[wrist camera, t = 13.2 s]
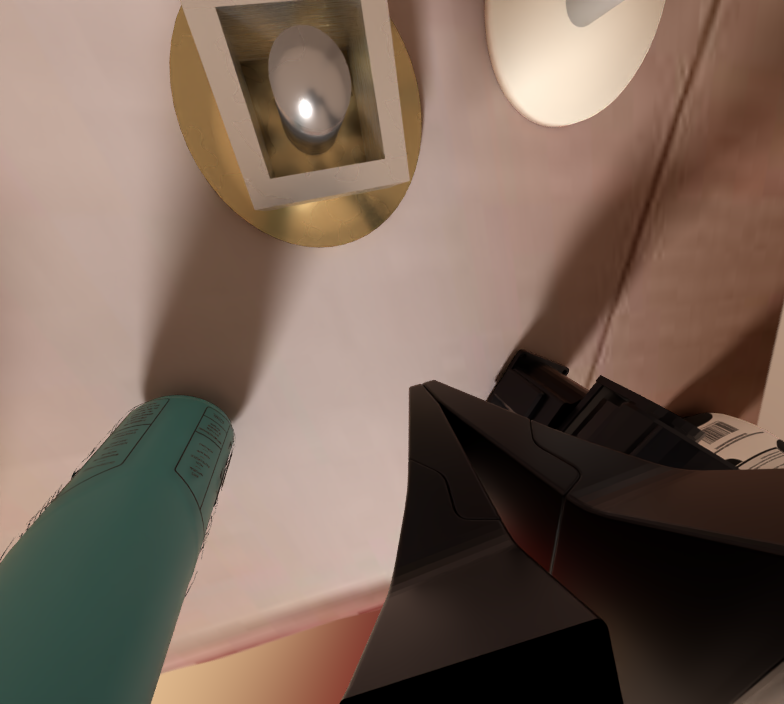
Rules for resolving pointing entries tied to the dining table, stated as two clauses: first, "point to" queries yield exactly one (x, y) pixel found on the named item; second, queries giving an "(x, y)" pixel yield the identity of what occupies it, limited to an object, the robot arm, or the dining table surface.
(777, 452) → the milk container
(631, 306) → the dining table surface
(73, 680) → the beverage bottle
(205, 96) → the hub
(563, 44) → the stand
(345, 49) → the collar
